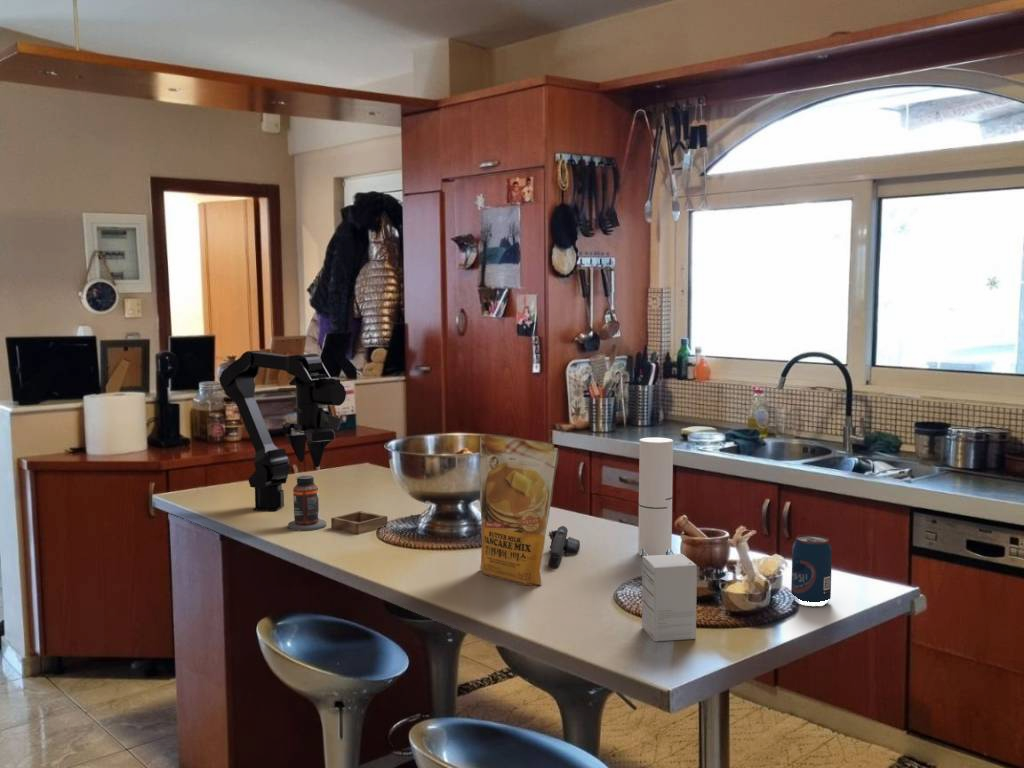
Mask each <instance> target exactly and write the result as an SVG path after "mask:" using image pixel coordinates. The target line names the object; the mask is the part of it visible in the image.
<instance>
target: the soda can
mask: <svg viewBox="0 0 1024 768" xmlns="http://www.w3.org/2000/svg"><path fill="white" fill-rule="evenodd" d="M791 557H792V558H791V586H790V587H791V589H790V591H791V592H790V594H791V593H792V594H793V595H794V596H796V597H797V598H798V599H800V600H802V601H807V602H808V601H809V602H820V601H825V600H828V599H830V600H831V598H832V596H831V595H832V593H831V592H832V565H833V564H832V562H833V561H832V557H833V548H832V546H831V544H830V539H829V538H828V537H826V536H822V535H818V534H799V535H797V536H796V537H795V541H794V543H793V545H792V551H791Z"/></svg>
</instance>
